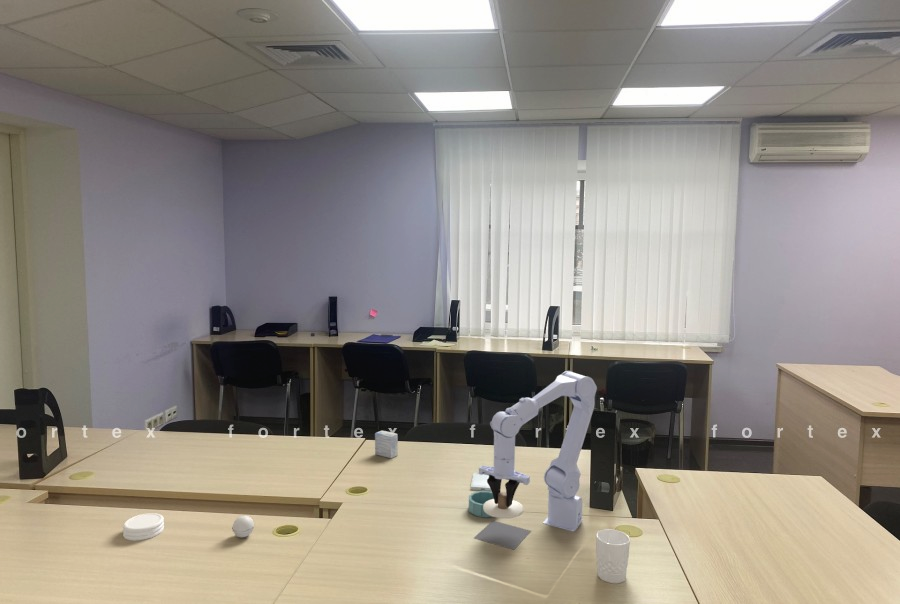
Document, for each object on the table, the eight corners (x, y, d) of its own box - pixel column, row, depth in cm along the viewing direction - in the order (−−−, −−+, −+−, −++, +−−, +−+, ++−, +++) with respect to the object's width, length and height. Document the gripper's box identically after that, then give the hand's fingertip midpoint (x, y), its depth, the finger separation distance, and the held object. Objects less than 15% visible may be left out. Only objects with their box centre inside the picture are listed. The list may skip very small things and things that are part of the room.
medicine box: (398, 455, 220) (398, 433, 220) (390, 459, 217) (391, 436, 216) (382, 451, 225) (382, 430, 224) (374, 454, 221) (374, 432, 220)
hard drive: (473, 472, 202) (470, 486, 190) (496, 473, 201) (495, 487, 189) (473, 476, 202) (470, 491, 190) (496, 478, 201) (495, 492, 189)
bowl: (507, 509, 176) (507, 495, 175) (492, 522, 167) (493, 508, 167) (478, 502, 181) (478, 488, 180) (462, 514, 172) (463, 500, 172)
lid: (529, 506, 161) (529, 491, 160) (513, 522, 151) (514, 506, 151) (493, 497, 166) (493, 483, 166) (476, 512, 156) (476, 497, 156)
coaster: (165, 521, 165) (165, 510, 165) (162, 538, 156) (161, 525, 156) (126, 527, 161) (125, 515, 161) (120, 544, 152) (119, 531, 152)
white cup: (622, 567, 144) (623, 528, 143) (633, 585, 136) (634, 544, 135) (591, 567, 144) (592, 528, 143) (600, 585, 136) (601, 545, 135)
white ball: (232, 533, 159) (231, 513, 158) (253, 529, 161) (253, 510, 160) (232, 546, 151) (231, 526, 151) (255, 543, 153) (254, 522, 153)
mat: (531, 532, 161) (531, 530, 161) (514, 551, 151) (514, 549, 151) (492, 522, 167) (492, 520, 167) (473, 539, 157) (473, 537, 157)
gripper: (474, 455, 157) (473, 503, 158) (523, 466, 150) (521, 515, 151) (485, 448, 163) (484, 494, 165) (533, 457, 156) (531, 505, 157)
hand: (503, 504), depth 158 cm, fingers closed on lid, 3 cm apart
